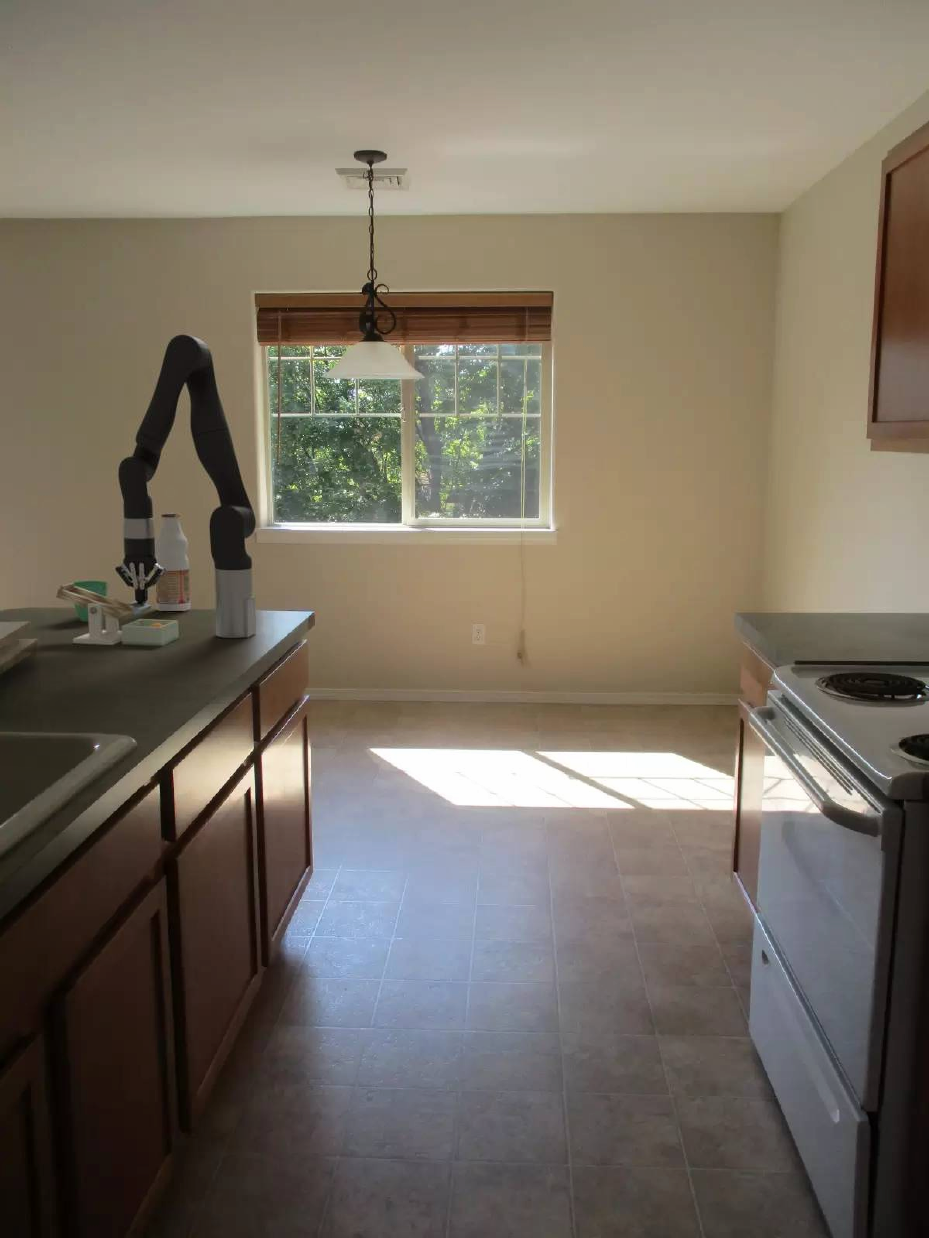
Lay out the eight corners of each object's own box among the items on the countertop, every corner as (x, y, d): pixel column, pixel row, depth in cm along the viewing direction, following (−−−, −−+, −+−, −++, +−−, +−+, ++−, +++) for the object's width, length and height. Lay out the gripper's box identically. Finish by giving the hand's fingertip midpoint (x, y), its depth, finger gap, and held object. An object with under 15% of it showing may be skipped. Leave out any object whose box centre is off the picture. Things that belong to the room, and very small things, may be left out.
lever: (150, 608, 260) (153, 598, 260) (120, 620, 244) (123, 608, 243) (90, 587, 261) (92, 576, 261) (56, 597, 245) (59, 585, 244)
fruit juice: (164, 613, 285) (161, 514, 280) (151, 609, 293) (148, 512, 288) (195, 610, 291) (193, 513, 286) (182, 606, 298) (179, 511, 294)
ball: (169, 624, 248) (154, 619, 248) (162, 627, 244) (147, 622, 244) (165, 639, 249) (150, 634, 249) (158, 642, 245) (143, 637, 245)
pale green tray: (178, 638, 252) (178, 620, 251) (161, 646, 242) (161, 627, 241) (140, 636, 253) (139, 618, 252) (122, 644, 243) (121, 626, 242)
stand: (134, 635, 254) (133, 598, 252) (112, 644, 242) (110, 605, 241) (97, 633, 255) (95, 596, 254) (73, 643, 244) (71, 604, 242)
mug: (107, 622, 271) (106, 585, 269) (68, 623, 268) (66, 586, 266) (112, 613, 285) (110, 578, 283) (75, 614, 282) (73, 578, 280)
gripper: (170, 535, 258) (172, 602, 261) (121, 533, 260) (123, 600, 263) (157, 538, 251) (160, 606, 254) (107, 536, 252) (110, 604, 255)
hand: (141, 603), depth 258 cm, fingers closed
